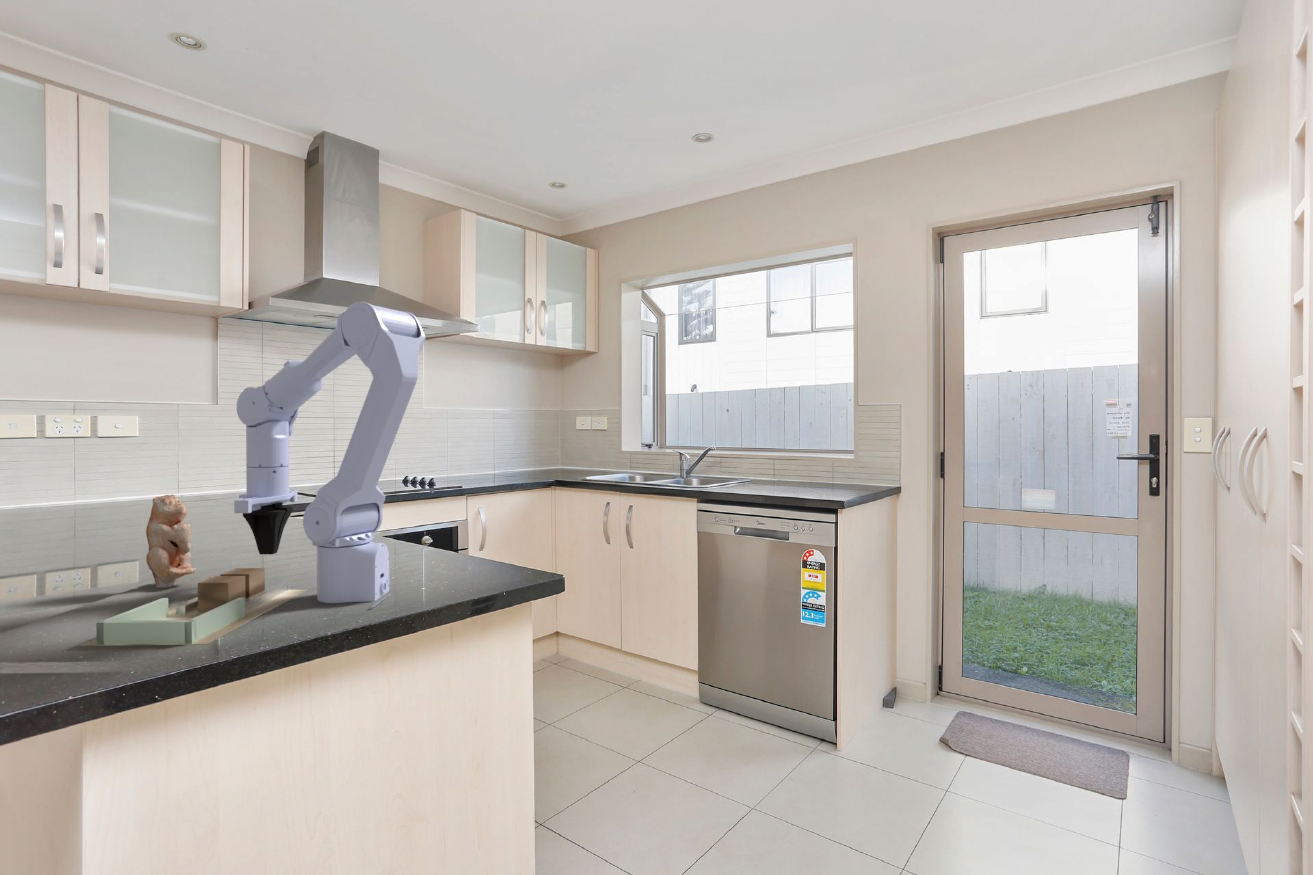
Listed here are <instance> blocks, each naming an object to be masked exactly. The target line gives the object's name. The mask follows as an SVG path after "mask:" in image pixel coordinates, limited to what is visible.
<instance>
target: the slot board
mask: <svg viewBox="0 0 1313 875" xmlns="http://www.w3.org/2000/svg"><path fill="white" fill-rule="evenodd" d="M308 591H309V589H290V590H289V591H287V592H285V593H283V594H281V595H279V596H277V597H274V598H272V599H270V600H268V601H266V602H264V603H262V604H260V605H258V606H256V607H254V608H252V609H250V610H248V611H246V612H245V617H243V618H241V619H239V620H237V621H235V622H233V623H231V624H229V625H227V626H225V627H223V628H221V629H219V630H217V631H216V632H214V633H212V634H210V635H208V636H206V637H204V638H202V639H200V640H198V641H196V642H194V643H192V644H109V645H97V638H95V639H92V640H89V641H86V642H85V643H83V644H80V645H79V646H80V647H82V646H83V647H87V646H89V647H91V646H94V647H95V646H97V647H98V646H99V647H100V646H102V647H103V646H104V647H105V646H166V645H167V646H175V645H177V646H178V645H179V646H180V645H182V646H183V645H184V646H185V645H186V646H187V645H191V646H192V645H209V644H210V643H212V642H213V641H215V640H217V639H219V638H221V637H222V636H225V635H226V634H229V633H231V632H232V631H234V630H236V629H238V628H240V627H241V626H243V625H245V624H247V623H250V622H252V621H253V620H254V619H257V618H259V617H260V616H262V615H264V614H267V613H269V612H270V611H272V610H274V609H275V608H277V607H279V606H281V605H283V604H285V603H287V602H289V601H290V600H293V599H295V598H297V597H298V596H300V595H302V594H304V593H305V592H306V593H307V592H308ZM176 606H177V605H175V606H173V607H170V608H168V617H167V618H165V619H163V620H190V619H193V618H195V617H197V616H199V615H201V614H204V613H206V612H198V609H197V610H195V611H193V612H190V613H188V614H186V615H176Z"/></svg>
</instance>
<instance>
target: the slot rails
mask: <svg viewBox="0 0 1313 875" xmlns="http://www.w3.org/2000/svg"><path fill="white" fill-rule="evenodd" d="M289 590H291V581H281V582H279V583H277V584H275V585H272V586H270V587H268V588H265V590H264V591H262V592H259V593H257V594H255V595H253V596H251V597H249V598H246V599H245V612H246V611H248V610H250V609H252V608H254V607H256V606H258V605H260V604H262V603H264V602H266V601H268V600H270V599H272V598H274V597H277V596H279V595H281V594H283V593H285V592H287V591H289ZM175 606H176V615H186V614H188V613H190V612H193V611H195V610H197V609H198V596H196V597H193V598H192V599H189V600H187V601H184V602H182V603H179V604H176V605H175Z"/></svg>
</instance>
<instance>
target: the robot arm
mask: <svg viewBox="0 0 1313 875" xmlns="http://www.w3.org/2000/svg"><path fill="white" fill-rule="evenodd" d="M426 338H427V337H426V334H425V332H424V330H423V327H422V325H421V322H420V321H419V319H418V318H417V317H416V315H415V314H413V313H412V312H410V311H406V310H405V311H402V310H401V311H400V310H397V309H392V308H387V307H384V306H378V305H376V304H375V305H374V304H371V303H368V302H366V301H356V302H353V303H352V304H350V305H349V306H348V307H347V308H346V310H345V311H344V312H342V313H340V314H339V315H338V316H337V321H336V327H335V328H334V329H333V331H331V333H330V334H328V336H327V337H326V338H324V339H323V341H321V343H320V344H319V345H318V346H317V347H316V348H315V349H314V350H313V351H312V352H310V354H309V355H308V356H307V357H305V359H304V360H303V359H293V360H287V361H285V362H284V364H283V367H282V368H281V369H280V370H278V371H277V373H276V374H274V375H273V376H272V377H271V378H269V379H267V380H266V381H264V383H263V385H258V386H257V387H254V386H253V387H252V386H249V387H246V388H244V389H243V391H242V392H241V393H240V394H239V396H238V398H237V400H236V413H237V416H238V417H237V418H238V419H239V420H240V422H241V423H243V424H244V425H245V426H246V427H245V430H246V431H245V433H246V434H245V438H246V440H245V443H246V446H245V448H246V451H245V453H246V454H245V456H246V458H245V459H246V464H245V465H246V468H245V469H246V476H245V477H246V480H245V481H246V493H243V494H239V495H238V499H234V501H233V502H234V507H233V509H234V510H233V511H234V514H242V517H243V518H244V519H245V521H246V522H247V524H248V526H249V528H250V530H251V532H252V534H253V537H254V540H255V543H256V546H257V550H258V553H259V555H275V554H277V553H278V550H279V547H280V545H281V543H280V542H281V540H282V536H283V533H284V529H285V527H286V524H287V522H288V520H289V518H290V516H291V515H292V514H293V511H294V510H293V508H294V507H293V506H292V505H283V504H289V503H296V502H298V489H290V438H289V437H291V436H292V434H293V426H294V423H295V421H296V420H297V417H298V414H299V408H301V407H302V406H303V405H304V404H305V403H306V402H307V401H309V400H310V399H311V398H312V397H313V396H315V395H316V394H317V393H319V392H320V391H321V390H322V389H323V387H324V377H326V376H327V375H329V374H330V373H331V372H333V371H334V370H337V368H338V367H339V366H342V365H343V364H344V363H346V362H347V361H349V360H350V359H352V357H354V356H356V355H357V357H358V358H359V359H360V361H361V362H362V363H363V365H365V367H366V368H368V369H369V371H370V373H371V375H372V380H371V384H370V386H369V388H368V391H367V394H366V396H365V400H364V402H363V405H362V408H361V410H360V413H359V416H358V418H357V421H356V424H355V426H354V429H353V432H352V434H351V438H350V440H349V442H348V445H347V449H346V451H345V454H344V456H343V459H342V460H341V463H340V467H339V470H338V471H337V475H336V476H334V477H333V478H332V479H331V480H329V481H328V482H327V483H325V484H324V485H323V486H322V487H321V488H319V489H318V490H317V493H316V495H315V498H314V499H313V501H312V502H310V503H309V504H308V505H307V507H306V508H305V510H304V512H303V513H304V514H303V516H302V526H303V529H304V532H305V534H306V536H307V538H308V539H309V540H310V541H311V542H312V546H315V547H316V586H317V587H316V595H317V596H316V598H317V601H318V602H321V603H326V604H338V603H339V604H340V603H343V604H344V603H353V602H355V603H356V602H357V603H359V602H361V603H362V602H366V603H367V602H371V603H372V602H376V603H374V604H373V605H372V606H370V607H369V609H374V607H376V606H377V605H378V604H380V603H382V602H383V601H385V599H387V598H388V597H389V596H392V592H390V552H389V548H388V545H387V544H386V543H383V542H373V541H372V540H375V533H376V532H378V530H379V529H380V527H381V525H382V523H383V506H384V503H385V501H386V495H385V494H384V492H383V491H382V490H381V488H379V487H378V482H379V481H380V478H381V475H382V473H383V470H384V468H385V464H386V463H387V460H388V457H389V456H390V455H389V454H390V452H391V449H392V446H393V444H394V442H395V438H396V436H397V434H398V431H399V429H400V425H401V423H402V421H403V419H404V415H405V413H406V410H407V408H408V405H409V403H410V399H411V398H412V394H413V392H414V390H415V387H416V384H417V381H418V378H419V362H420V359H419V357H420V354H421V350H422V348H423V345H424V343H425V340H426ZM389 592H390V593H389ZM387 593H388V594H387ZM386 594H387V595H386ZM383 596H384V597H383ZM382 597H383V598H382ZM380 598H381V599H380Z"/></svg>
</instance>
